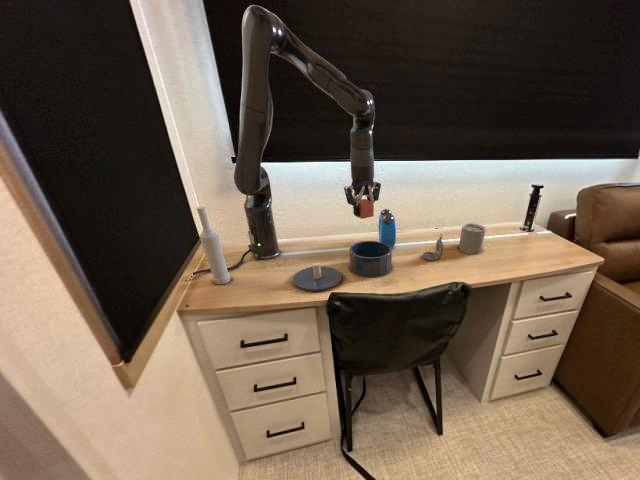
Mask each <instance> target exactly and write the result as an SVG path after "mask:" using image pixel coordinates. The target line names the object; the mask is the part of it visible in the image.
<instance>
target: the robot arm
mask: <svg viewBox="0 0 640 480" xmlns="http://www.w3.org/2000/svg"><path fill="white" fill-rule="evenodd" d="M241 21H242V23H241V36H242V37H241V38H242V39H241V40H242V43H241V44H242V78H241V94H240V95H241V96H240V107H239V109H240V110H239V129H238V149H237V154H236V155H237V156H236V162H235V167H234V173H233V182H234V184H235V187H236V189H237V190H238V192H240V193H241V194H242V195H244V196H246V197H245V202H244V203H243V208H244V213H245V219H246V223H247V226H248V231H247V234H248V239H249V242H250V244H247V247H248V248H247V249H248V250H247V251H245V252H244V253H243V254H242V256H241V258H240V260H239V262H237V264H235V265H233V266H230V267H227V270H228V271H230V270H234V269H237V268H238V267H240V265H241V264H242V263H243V262H244V259H245V257H246V256H247V255H248V254H250V253H251V254H252V255H253V256H254V257H255V258H256V259H258V260H261V259H263V260H266V259H267V260H268V259H273V258H276V257H277V256H279V255H280V253H281V252H280V247H279V242H278V236H277V231H276V225H275V219H274V214H273V208H272V204H273V195H272V188H271V181H270V177H269V174H268V172H267V170H266V169H265V168H264V167H263V166H262V158H263V153H264V151H265V148H266V146H267V143H268V140H269V138H270V134H271V132H272V128H273V127H272V126H273V120H274V119H273V118H274V100H273V95H272V90H271V85H270V80H269V64H270V56H271V54H274V55H275V56H278V57H279V58H282V59H284V60H286V61H287V62H288V63H290V64H292V65H293V66H294V67H296V68H297V70H299V71H300V72H301V73H302V74H303V75H304V76H305V77H306V78H307V79H308V80H309V81H310V82H311V83H312V84H313V85H314V86H315V87H316V88H318V89H320V90H321V91H322V92H324V93H325V94H326V95H327V96H329V97H331V98H332V99H333V100H334V101H335V102H336V103H337V104H338V105H339V106H340V107H341V108H342V109H344V111H345V112H346V113H348V114H349V115H351V117H353V122H352V127H351V128H350V131H349V134H350V135H349V136H350V137H349V139H350V154H349V155H350V176H351V177H350V178H351V184H350V185H349V186H344V187H343V191H344V194H345V199H346V202H347V204H348V205H350V206H352V211H353V216H355V217H357V218H359V216H360V210H359V203H360V200H362V199H363V197H364V196H365V197H366V199H367V200H369V201H372V202H373V207H375V205H374V203H375V202H378V201H379V199H380V192H381V187H382V184H381V183H380V182H377V181H374V179H375V154H374V135H373V134H374V133H373V131H374V124H375V118H376V102H375V97H374V96H373V94H372V93H371V92H370V91H369V90H368V89H363V88H362V89H360V87H358V86H356V85H355V84H353V83H352V82H351V81H350V80H349V79H348V78H347V76H346V75H345V74H344V73H343V72H342V71H340V69H338V68H336V67H335V65H333V64H332V63H331V62H329V61H327V60H326V59H325V58H323V57H322V56H320V55H319V54H318V53H317V52H315V51H314V50H312V49H311V48H310V47H308V45H306V44H305V43H303V41H301V40H300V39H299V38H298V37H297V35H295V34H294V33H293V32H292V31H291V30H290V29H289V28H288V27H287V26H286V24H285V23H284V22H283V21H282V20H281V19H280V18H279V16H277V15H276V14H275V13H273V12H271V11H269V10H268V9H266V8H264V7H262V6H260V5H258V4H257V5H255V4H252V5H249V6H248V7H247V8H246V10H245V11H244V13H243V17H242V20H241ZM206 272H211V269H210V268H206V269H201V270H196V271H194V272H192V273H193V276H196V275H197V274H201V273H206ZM193 276H191V278H193Z"/></svg>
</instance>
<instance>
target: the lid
mask: <svg viewBox="0 0 640 480" xmlns="http://www.w3.org/2000/svg"><path fill="white" fill-rule="evenodd" d="M311 265H312V266H309V267H306V268H302V269H300V270H299V271H297V272H296V273H295V274H294V275H293V277H292V282H293V284H294V285H295V286H296V287H297V288H299V289H301V290H304V291H316V292H317V291H325V290H328V289H331V288H334V287H336V286H338V285H339V284H340V283H341V281H342V279H343V275H342V273H341V271H340V270H339V269H337V268H335V267H333V266H325V265H321V263H320V262H313V263H312V264H311Z"/></svg>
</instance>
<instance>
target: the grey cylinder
mask: <svg viewBox="0 0 640 480" xmlns="http://www.w3.org/2000/svg"><path fill="white" fill-rule="evenodd" d="M486 230H487V228H486V227H485V226H484V225H482V224H478V223H464V224H462V227H461V232H460V239H459V244H458V249H459V251H461V252H462V253H465V254H469V255H477V254H480V253H481V252H482V250H483V245H484V240H485V236H486Z"/></svg>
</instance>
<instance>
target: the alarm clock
mask: <svg viewBox="0 0 640 480" xmlns="http://www.w3.org/2000/svg"><path fill="white" fill-rule="evenodd" d="M378 217H379V218H378V239H379V240H378V242H382V243H385V244H387V245H389V246H390V247H391V248H392V249H393V248H394V246H395V245H396V239H397V225H396V224H397V223H396V218H395V215H394V214H393V213H392V210H390V209H387V208H385V209H382V210H381V211H380V215H379V216H378Z"/></svg>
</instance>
